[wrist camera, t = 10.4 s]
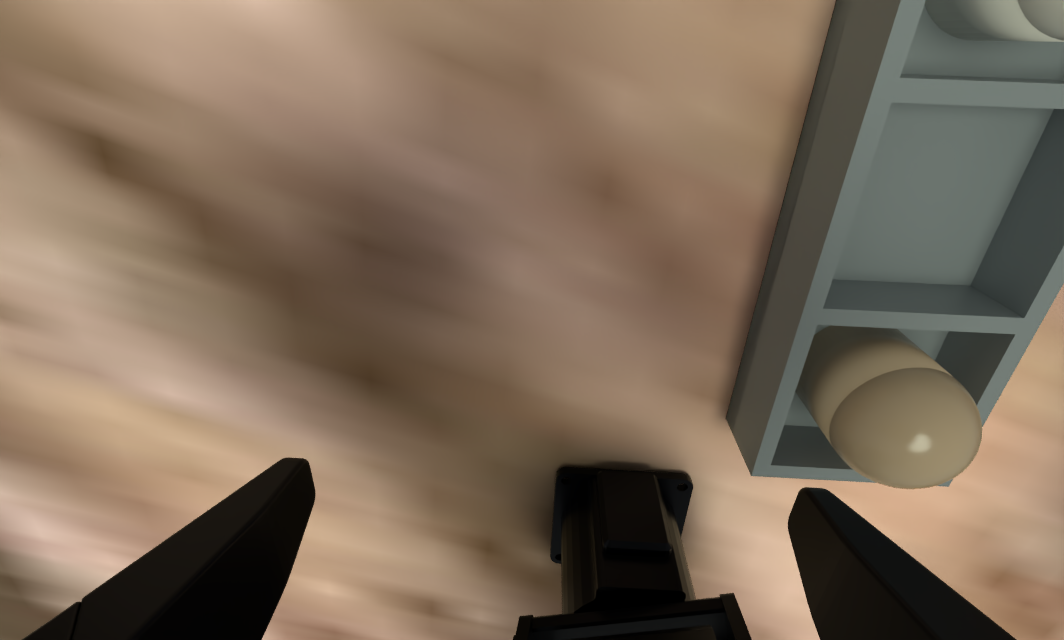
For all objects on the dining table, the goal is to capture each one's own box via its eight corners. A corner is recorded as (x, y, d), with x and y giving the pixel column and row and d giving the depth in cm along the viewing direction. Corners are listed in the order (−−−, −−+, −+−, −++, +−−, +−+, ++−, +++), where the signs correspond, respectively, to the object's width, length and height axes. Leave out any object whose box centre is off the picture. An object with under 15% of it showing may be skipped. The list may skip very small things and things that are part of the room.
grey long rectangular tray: (897, 427, 23) (948, 486, 20) (726, 418, 24) (751, 475, 20) (1196, -214, 13) (1386, -288, 10) (894, -221, 14) (994, -297, 10)
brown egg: (884, 412, 22) (980, 522, 17) (778, 407, 22) (842, 514, 17) (925, 320, 20) (1048, 414, 15) (808, 314, 20) (891, 406, 15)
